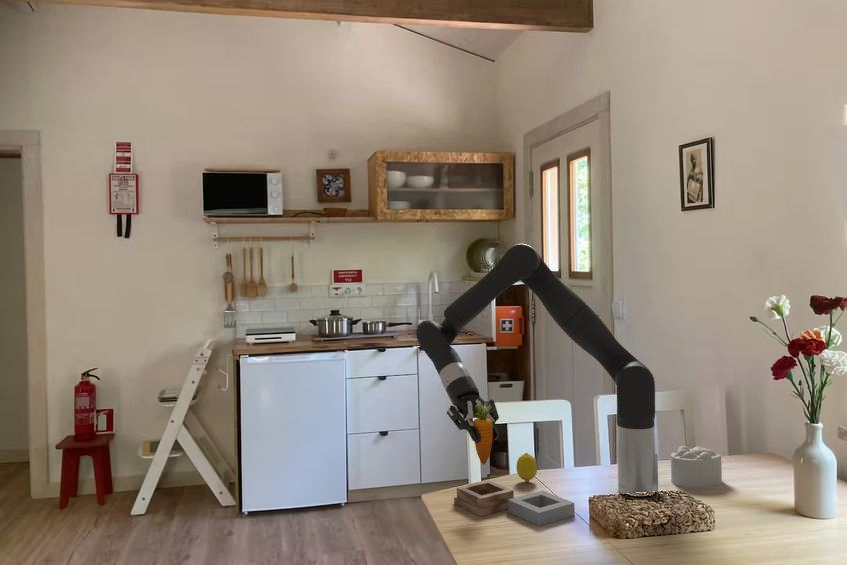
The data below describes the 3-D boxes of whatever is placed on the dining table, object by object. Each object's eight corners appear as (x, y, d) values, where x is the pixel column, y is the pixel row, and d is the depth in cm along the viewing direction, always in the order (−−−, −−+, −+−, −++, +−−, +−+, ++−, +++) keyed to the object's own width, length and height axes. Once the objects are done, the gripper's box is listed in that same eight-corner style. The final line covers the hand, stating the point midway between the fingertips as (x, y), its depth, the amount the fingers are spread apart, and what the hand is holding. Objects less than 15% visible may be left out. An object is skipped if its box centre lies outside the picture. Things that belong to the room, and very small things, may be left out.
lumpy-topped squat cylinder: (727, 483, 178) (726, 450, 178) (690, 490, 173) (689, 457, 172) (697, 472, 187) (696, 441, 187) (661, 479, 182) (660, 447, 182)
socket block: (542, 502, 167) (542, 490, 167) (574, 515, 157) (574, 502, 157) (508, 512, 161) (507, 499, 161) (539, 526, 151) (538, 512, 151)
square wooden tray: (489, 494, 173) (488, 479, 173) (516, 506, 164) (516, 490, 164) (454, 503, 168) (453, 487, 168) (480, 516, 158) (480, 499, 158)
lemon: (536, 479, 185) (535, 450, 185) (538, 485, 180) (537, 455, 180) (516, 479, 186) (515, 450, 186) (517, 485, 180) (516, 455, 180)
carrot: (495, 462, 167) (494, 402, 167) (491, 468, 163) (489, 406, 162) (476, 460, 169) (475, 401, 169) (471, 466, 164) (470, 405, 164)
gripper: (441, 377, 168) (470, 435, 158) (486, 372, 176) (517, 426, 166) (430, 395, 173) (457, 452, 163) (474, 389, 180) (504, 443, 170)
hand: (487, 439), depth 164 cm, fingers closed on carrot, 5 cm apart
